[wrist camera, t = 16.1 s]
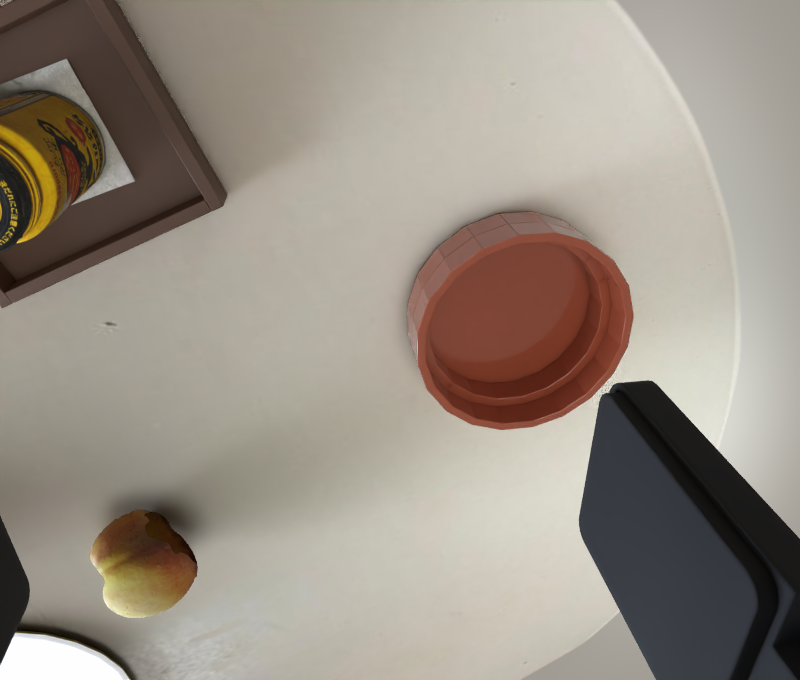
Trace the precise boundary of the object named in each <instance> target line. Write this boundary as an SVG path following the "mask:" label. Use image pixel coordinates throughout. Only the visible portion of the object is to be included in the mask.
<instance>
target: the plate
mask: <svg viewBox="0 0 800 680" xmlns="http://www.w3.org/2000/svg"><path fill="white" fill-rule="evenodd" d="M0 680H131V678H130V677H129V675H128V674H127V673H126V671H125V670H124V669H123V667H122V666H120V665H119V664H118V663H116V662H115V661H114V660H112V659H111V658H110V657H108V656H107V655H106V654H104V653H103V652H102V651H99V650H97V649H95V648H93V647H90V646H88V645H86V644H84V643H81V642H79V641H77V640H73V639H69V638H65V637H61V636H57V635H53V634H48V633H41V632H28V631H16V632H15V634H14V636H13V639H12V641H11V643H10V645H9V647H8V650H7V652H6V654H5V656H4V659H3V661H2V663H1V665H0Z"/></svg>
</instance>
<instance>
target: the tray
mask: <svg viewBox="0 0 800 680" xmlns="http://www.w3.org/2000/svg"><path fill="white" fill-rule="evenodd" d="M65 59H67V60H68V62H69V64H70V66H71V68H72V70H73V71H74V73H75V75H76V77H77V78H78V80H79V82H80V84H81V86H82V88H83V89H84V90H85V92H86V94H87V96H88V97H89V99H90V101H91V102H92V104H93V106H94V108H95V110H96V111H97V113H98V115H99V117H100V118H101V120H102V122H103V123H104V125H105V127H106V129H107V130H108V132H109V134H110V136H111V138H112V140H113V141H114V143H115V145H116V147H117V149H118V150H119V152H120V154H121V156H122V158H123V160H124V161H125V164H126V165H127V167H128V169H129V171H130V173H131V174H132V176H133V178H134V180H135V181H134V182H131V183H129V184H126V185H123V186H120V187H118V188H115V189H113V190H110V191H107V192H105V193H102V194H99V195H97V196H94V197H92V198H89V199H86V200H84V201H81V202H78V203H76V204H73V205H71V206H70V207H69V208H68V209H67V210H65V211H64V212H63V213H62V214H61V215H60V216H59V217H58V218H57V219H56V220H55V221H53V223H51V225H49V226H48V227H47V228H45V230H44V231H42V233H41V234H39V235H37V236H35V237H34V238H32V239H29V240H27V241H24V242H21V243H16V244H15V245H14V246H12V247H11V248H10V249H8V250H6V251H2V252H0V307H1V308H4V307H6V306H8V305H10V304H12V303H14V302H17V301H19V300H21V299H23V298H25V297H27V296H30V295H32V294H34V293H36V292H38V291H40V290H42V289H45V288H47V287H49V286H51V285H53V284H55V283H58V282H60V281H62V280H64V279H66V278H68V277H71V276H73V275H75V274H77V273H79V272H81V271H84V270H86V269H88V268H90V267H92V266H94V265H96V264H99V263H101V262H103V261H105V260H107V259H109V258H112V257H114V256H116V255H118V254H120V253H122V252H125V251H127V250H129V249H131V248H133V247H135V246H138V245H140V244H142V243H144V242H146V241H148V240H151V239H153V238H155V237H157V236H159V235H161V234H163V233H166V232H168V231H170V230H172V229H174V228H176V227H179V226H181V225H183V224H185V223H187V222H189V221H192V220H194V219H196V218H198V217H200V216H202V215H205V214H207V213H209V212H211V211H213V210H215V209H218V208H220V207H222V206H223V205H224V202H225V199H226V197H227V193H226V192H225V190H224V188H223V186H222V185H221V183H220V181H219V179H218V178H217V176H216V174H215V172H214V171H213V169H212V167H211V165H210V164H209V162H208V160H207V159H206V157H205V155H204V153H203V152H202V150H201V148H200V146H199V145H198V143H197V141H196V139H195V138H194V136H193V134H192V132H191V131H190V129H189V127H188V125H187V124H186V122H185V120H184V119H183V117H182V115H181V113H180V112H179V110H178V108H177V106H176V105H175V103H174V101H173V99H172V98H171V96H170V94H169V92H168V91H167V89H166V87H165V85H164V84H163V82H162V80H161V79H160V77H159V75H158V73H157V72H156V70H155V68H154V66H153V65H152V63H151V61H150V59H149V58H148V56H147V54H146V52H145V51H144V49H143V47H142V45H141V44H140V42H139V40H138V39H137V37H136V35H135V33H134V32H133V30H132V28H131V26H130V25H129V23H128V21H127V19H126V18H125V16H124V14H123V12H122V11H121V9H120V7H119V5H118V4H117V2H116V0H13V1H11V2H9V3H7V4H5V5H3V6H1V7H0V84H3V83H6V82H8V81H11V80H13V79H16V78H18V77H21V76H24V75H26V74H29V73H31V72H34V71H36V70H39V69H42V68H44V67H47V66H49V65H52V64H54V63H57V62H59V61H62V60H65Z"/></svg>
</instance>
